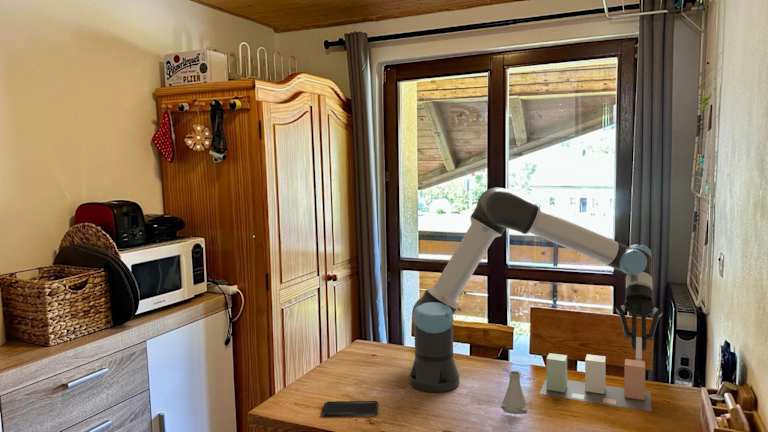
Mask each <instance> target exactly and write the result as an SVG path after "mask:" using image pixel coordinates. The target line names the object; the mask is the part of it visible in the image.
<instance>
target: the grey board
mask: <svg viewBox="0 0 768 432" xmlns="http://www.w3.org/2000/svg"><path fill="white" fill-rule="evenodd" d="M539 395H543V396H549V397H557V398H561V399H562V398H563V399H569V400H575V401H581V402H587V403H594V404H600V405H606V406H613V407H619V408H625V409H631V410H637V411H644V412H652V394H651V391H646V390H645V400H640V399H634V398H627V397H624V387H618V386H611V385H605V393H604V394H601V393H594V392H587V391H585V381H584V382H583V381H576V380H569V379H567V388H566V391H565V392H559V391H552V390H546V378H545V379H544V381H543V384H542V387H541V388H540V391H539Z"/></svg>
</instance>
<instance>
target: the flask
mask: <svg viewBox="0 0 768 432" xmlns="http://www.w3.org/2000/svg"><path fill="white" fill-rule="evenodd" d="M508 375H509V381H508V387H507V389H506V393H505V395H504V397H503V400H502V404H503V405H504V406H503V405H501V406H500V408H501V409H502V410H503V411H504V412H505V413H511V414H517V415H518V414H519V415H520V414H526V413H527V412H528V410H526V409H525V408H526V407H527V405H528V403H527V401H526V398H525V395H524V393H523V392H524V391H523V389H522V386H521V379H520V377H521V375H522V373H521V372H520V371H518V370H509V371H508Z"/></svg>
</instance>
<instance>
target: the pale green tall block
mask: <svg viewBox="0 0 768 432" xmlns="http://www.w3.org/2000/svg"><path fill="white" fill-rule="evenodd" d="M545 361H546V365H545V366H546V368H545V372H546V378H545V379H546V390H552V391H559V392H565V391H566V388H567V380H568V355H567V354H559V353H551V352H549V353H548V355H547V356H546V360H545Z"/></svg>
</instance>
